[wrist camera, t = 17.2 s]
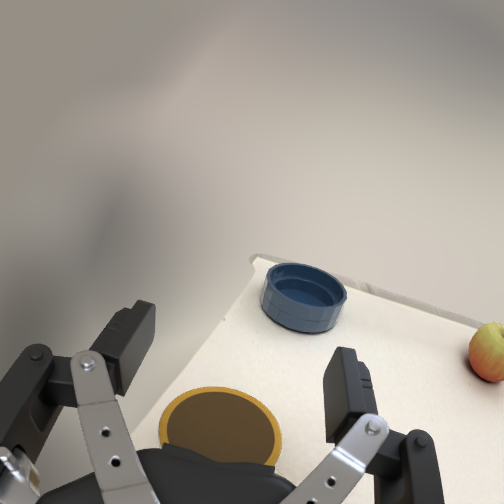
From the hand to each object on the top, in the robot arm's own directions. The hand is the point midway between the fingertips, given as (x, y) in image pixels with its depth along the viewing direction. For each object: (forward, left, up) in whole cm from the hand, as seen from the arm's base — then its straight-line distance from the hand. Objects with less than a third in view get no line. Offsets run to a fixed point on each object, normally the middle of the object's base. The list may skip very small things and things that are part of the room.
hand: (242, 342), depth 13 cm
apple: (+42, +13, -16) cm, 46 cm away
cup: (0, -2, -15) cm, 16 cm away
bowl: (+12, +26, -16) cm, 33 cm away
